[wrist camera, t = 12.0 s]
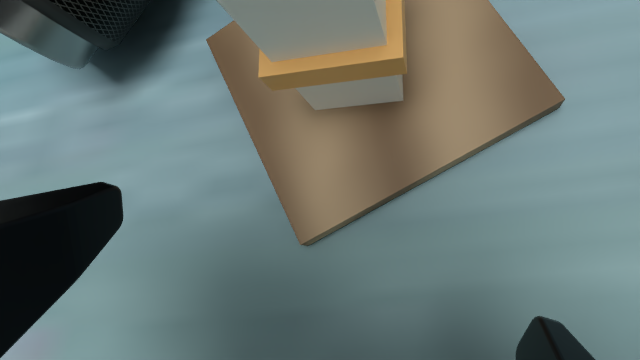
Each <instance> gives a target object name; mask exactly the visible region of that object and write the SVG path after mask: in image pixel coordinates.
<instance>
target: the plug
mask: <svg viewBox="0 0 640 360" xmlns="http://www.w3.org/2000/svg"><path fill="white" fill-rule="evenodd" d="M217 2H218V3H219V4H220V5H221V6H222V7H223V8H224V9H225V11H226V12H227V13H228V14H229V15H230V16H231V17H232V18H233V19H234V21H235V22H236V23H237V24H238V25H239V26H240V27H241V28H242V29H243V31H244V32H245V33H246V34H247V35H248V36H249V37H250V38H251V39H252V41H253V42H254V43H255V44H256V45H257V46H258V47H259V73H258V78H259V79H261V80H262V81H263V82H264V83H265V84H266V85H267V86H268V87H269V88H270V89H271V90H272V91H275V90H283V89H291V88H295V89H296V90H297V91H298V92H299V93H300V94H301V95H302V96H303V97H304V99H305V100H306V101H307V102H308V103H309V104H310V105H311V106H312V107H313V109H314V110H322V109H331V108H340V107H349V106H359V105H368V104H377V103H387V102H396V101H403V76H402V74H407V54H406V26H405V0H217Z"/></svg>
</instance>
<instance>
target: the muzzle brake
mask: <svg viewBox="0 0 640 360" xmlns="http://www.w3.org/2000/svg"><path fill="white" fill-rule="evenodd" d="M150 1H151V0H0V33H1V34H3V35H5V36H7V37H9V38H10V39H12V40H14V41H16V42H18V43H19V44H21V45H23V46H25V47H27V48H29V49H31V50H33V51H35V52H36V53H38V54H40V55H43V56H45V57H47V58H49V59H51V60H53V61H55V62H58V63H60V64H63V65H65V66H68V67H71V68H75V69H81V68H83V67H85V66H86V64H87V63H88V61H89V60H90V59H91V57H92V56H93V54H94V53H95V52H96V50H97V49H98V47H99V48H102V49H104V50H108V49H110V48H112V47H115V46H117V45H118V44H120V42H121V41H122V40H123V38H124V37H125V35H126V34H127V33H128V31H129V30H130V28H131V27H132V26H133V24H134V23H135V21H136V20H137V19H138V17H139V16H140V14H141V13H142V12H143V10H144V9H145V8H146V6H147V5H148V3H149V2H150Z"/></svg>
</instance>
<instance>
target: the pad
mask: <svg viewBox="0 0 640 360" xmlns="http://www.w3.org/2000/svg"><path fill="white" fill-rule="evenodd" d="M405 26H406V54H407V74H402V76H403V101H396V102H387V103H377V104H368V105H359V106H349V107H340V108H331V109H322V110H314V109H313V107H312V106H311V105H310V104H309V103H308V102H307V101H306V100H305V99H304V97H303V96H302V95H301V94H300V93H299V92H298V91H297V90H296V89H295V88H291V89H283V90H275V91H272V90H271V89H270V88H269V87H268V86H267V85H266V84H265V83H264V82H263V81H262V80H261V79H259V78H258V73H259V47H258V46H257V45H256V44H255V43H254V42H253V41H252V39H251V38H250V37H249V36H248V35H247V34H246V33H245V32H244V31H243V29H242V28H241V27H240V26H239V25H238V24H237V23H236V22H235V21H232V22H231V23H230V24H228V25H227V26H225V27H224V28H222V29H221V30H219V31H218V32H216V33H215V34H214V35H212V36H211V37H209V38H208V39H206V41H207V43H208V45H209V47H210V49H211V51H212V54H213V56H214V58H215V60H216V62H217V65H218V67H219V69H220V71H221V73H222V75H223V78H224V80H225V82H226V84H227V86H228V89H229V91H230V93H231V95H232V97H233V99H234V102H235V104H236V106H237V108H238V110H239V112H240V115H241V117H242V119H243V121H244V123H245V126H246V128H247V130H248V132H249V134H250V136H251V139H252V141H253V143H254V145H255V147H256V149H257V152H258V154H259V156H260V158H261V160H262V163H263V165H264V167H265V169H266V171H267V173H268V176H269V178H270V180H271V182H272V184H273V186H274V189H275V191H276V193H277V195H278V197H279V200H280V202H281V204H282V206H283V208H284V210H285V213H286V215H287V217H288V219H289V221H290V223H291V226H292V228H293V230H294V232H295V234H296V237H297V239H298V241H299V243H300V245H305V246H308V245H310V244H312V243H314V242H316V241H318V240H319V239H321V238H323V237H325V236H327V235H328V234H330V233H332V232H334V231H336V230H338V229H339V228H341V227H343V226H345V225H347V224H349V223H350V222H352V221H354V220H356V219H358V218H360V217H361V216H363V215H365V214H367V213H369V212H370V211H372V210H374V209H376V208H378V207H380V206H381V205H383V204H385V203H387V202H389V201H391V200H392V199H394V198H396V197H398V196H400V195H401V194H403V193H405V192H407V191H409V190H411V189H412V188H414V187H416V186H418V185H420V184H422V183H423V182H425V181H427V180H429V179H431V178H432V177H434V176H436V175H438V174H440V173H442V172H443V171H445V170H447V169H449V168H451V167H453V166H454V165H456V164H458V163H460V162H462V161H463V160H465V159H467V158H469V157H471V156H473V155H474V154H476V153H478V152H480V151H482V150H484V149H485V148H487V147H489V146H491V145H493V144H494V143H496V142H498V141H500V140H502V139H504V138H505V137H507V136H509V135H511V134H513V133H515V132H516V131H518V130H520V129H522V128H524V127H526V126H527V125H529V124H531V123H533V122H535V121H536V120H538V119H540V118H542V117H544V116H546V115H547V114H549V113H551V112H553V111H555V110H557V109H558V108H559V107H560V106H561V104H562V103H563V101H564V100H565V98H564V97H563V96H562V94H561V93H560V92H559V91H558V89H557V88H556V87H555V85H554V84H553V83H552V82H551V80H550V79H549V78H548V76H547V75H546V74H545V73H544V71H543V70H542V69H541V67H540V66H539V65H538V64H537V62H536V61H535V60H534V58H533V57H532V56H531V55H530V53H529V52H528V51H527V49H526V48H525V47H524V46H523V44H522V43H521V42H520V40H519V39H518V38H517V37H516V35H515V34H514V33H513V32H512V30H511V29H510V28H509V26H508V25H507V24H506V23H505V21H504V20H503V19H502V17H501V16H500V15H499V14H498V12H497V11H496V10H495V8H494V7H493V6H492V5H491V3H490V2H489V1H488V0H405Z"/></svg>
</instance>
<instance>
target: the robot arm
mask: <svg viewBox="0 0 640 360" xmlns="http://www.w3.org/2000/svg"><path fill="white" fill-rule="evenodd" d="M122 222H123V206H122V194H121V190H120V189H119V188H118V187H117V186H114V185H111V184H108V183H104V182H97V183H92V184H87V185H81V186H76V187H71V188H66V189H60V190H55V191H50V192H44V193H39V194H34V195H28V196H23V197H18V198H12V199H7V200H2V201H0V358H1V357H2V356H3V355H4V354H5V353H6V352H7V351H8V350H9V349H10V348H11V347H12V346H13V345H14V344H15V343H16V342H17V341H18V340H19V339H20V338H21V337H22V336H23V335H24V334H25V333H26V332H27V331H28V329H29V328H30V327H31V326H32V325H33V324H34V323H35V322H36V321H37V320H38V319H39V318H40V317H41V316H42V315H43V314H44V313H45V312H46V311H47V310H48V309H49V308H50V307H51V306H52V305H53V304H54V303H55V302H56V301H57V300H58V299H59V298H60V297H61V296H62V295H63V294H64V293H65V292H66V291H67V290H68V289H69V288H70V287H71V286H72V285H73V284H74V283H75V281H76V280H77V279H78V278H79V277H80V276H81V275H82V273H83V272H84V271H85V270H86V269H87V267H88V266H89V265H90V264H91V263H92V261H93V260H94V259H95V258H96V256H97V255H98V254H99V253H100V251H101V250H102V249H103V248H104V246H105V245H106V244H107V243H108V242H109V240H110V239H111V238H112V237H113V235H114V234H115V233H116V232H117V230H118V229H119V228H120V226H121V224H122ZM516 360H595V359H594V358H593V357H592V356H591V354H590V353H589V352H588V351H587V350H586V349H585V348H584V347H583V346H582V345H581V344H580V343H579V342H578V340H577V339H576V338H575V337H574V336H573V335H572V334H571V333H570V332H569V331H568V330H567V329H566V328H565V326H564V325H563V324H561V323H560V322H558V321H555V320H552V319H549V318H545V317H542V316H537V317H535V318H534V319H533V320H532V321H531V323H530V325H529V326H528V328H527V330H526V332H525V333H524V335H523V337H522V338H521V340H520V342H519V344H518V346H517V350H516Z"/></svg>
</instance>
